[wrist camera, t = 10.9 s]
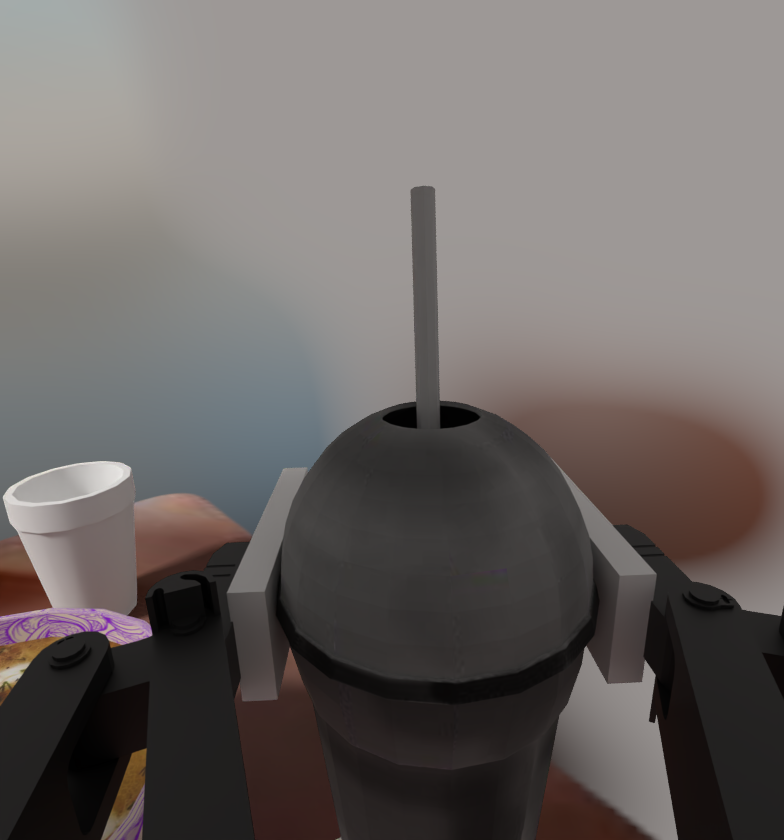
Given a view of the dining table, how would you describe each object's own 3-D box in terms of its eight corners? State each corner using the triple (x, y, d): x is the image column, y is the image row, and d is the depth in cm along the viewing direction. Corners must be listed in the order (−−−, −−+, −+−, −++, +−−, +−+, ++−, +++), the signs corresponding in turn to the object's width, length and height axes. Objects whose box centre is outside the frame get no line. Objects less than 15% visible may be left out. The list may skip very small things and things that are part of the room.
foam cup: (176, 586, 51) (154, 465, 47) (103, 653, 42) (69, 511, 38) (98, 574, 53) (71, 458, 49) (14, 634, 44) (-26, 499, 41)
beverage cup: (296, 1106, 12) (143, 136, 6) (327, 793, 19) (271, 206, 13) (610, 1089, 12) (763, 116, 6) (524, 783, 19) (557, 197, 13)
